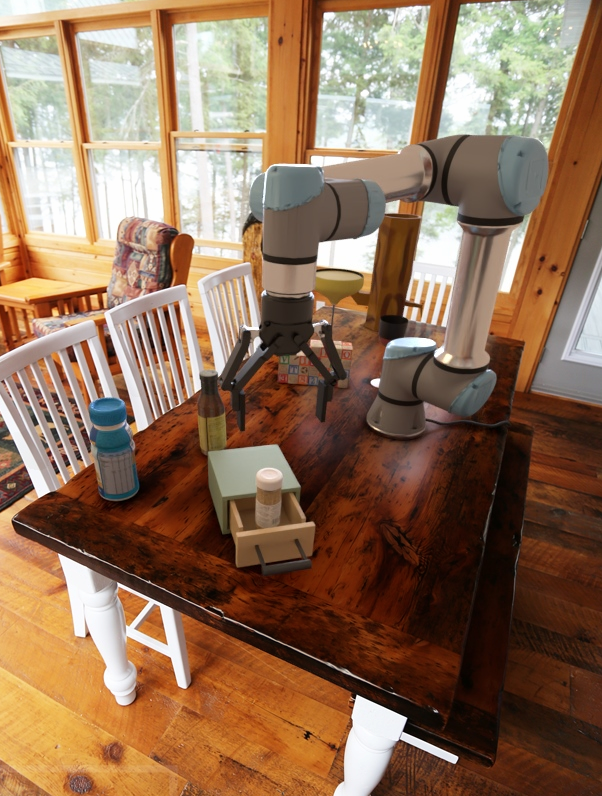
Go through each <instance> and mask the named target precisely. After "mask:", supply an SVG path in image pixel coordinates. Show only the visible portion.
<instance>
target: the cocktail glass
mask: <svg viewBox="0 0 602 796" xmlns="http://www.w3.org/2000/svg"><path fill="white" fill-rule="evenodd" d="M364 284H365V275H364V274H363V273H361V272H359V271H356V270H352V269H345V268H318V269H317V268H316V282H315V289H314V290H313V291H315V292H316V293H318V294H320V295H321V296H323V297H325V298H326V299H327V300H328V301H329V303H330V304H331V306H332V311H331V320H330V325H331V326H332V328H333V326H334V317H335V316H334V315H335V308H336V306H337V305H338V304H339V303H340V302H341V301H342V300H343V299H345V298H348V297H351V295H353V294H355V293H357V292H358V291H362V289H363V287H364Z"/></svg>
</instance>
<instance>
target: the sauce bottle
mask: <svg viewBox="0 0 602 796" xmlns="http://www.w3.org/2000/svg"><path fill="white" fill-rule="evenodd" d="M198 376H199V378H198V379H199V381H200V393H199V395H198V397H197V400H196V408H197V424H198V425H197V426H198V436H199V437H198V438H199V447H200V451H201V454H202V455H205V456H207V457H208V452H209V451H219V450H227V445H228V441H227V423H226V408H225V404H224V402H223V400H222V396H221V393H220V391H219V383H218V380H219V372H218V371H216V370H215V369H204V370H201V371H199V373H198Z"/></svg>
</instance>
